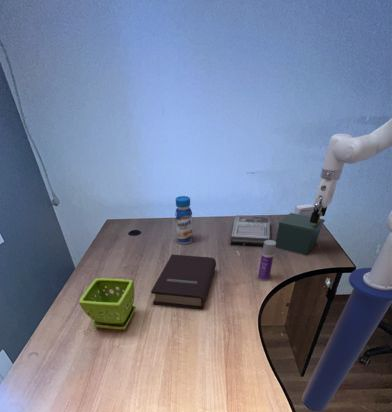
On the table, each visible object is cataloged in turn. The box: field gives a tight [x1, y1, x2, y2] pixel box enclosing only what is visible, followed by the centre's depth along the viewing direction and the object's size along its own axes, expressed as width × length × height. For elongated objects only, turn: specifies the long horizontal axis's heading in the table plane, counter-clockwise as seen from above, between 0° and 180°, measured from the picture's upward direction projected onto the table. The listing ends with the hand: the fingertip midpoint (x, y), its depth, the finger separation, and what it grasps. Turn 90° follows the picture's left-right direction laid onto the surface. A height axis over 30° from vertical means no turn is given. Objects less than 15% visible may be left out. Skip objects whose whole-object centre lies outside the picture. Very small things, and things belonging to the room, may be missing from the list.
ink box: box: [293, 203, 315, 217], centre depth 138 cm, size 8×5×12 cm, turn 105°
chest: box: [275, 223, 322, 256], centre depth 126 cm, size 16×14×11 cm
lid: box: [278, 212, 326, 232], centre depth 120 cm, size 16×14×5 cm
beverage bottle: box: [174, 195, 194, 245], centre depth 129 cm, size 8×8×20 cm
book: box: [150, 254, 217, 310], centre depth 105 cm, size 28×20×6 cm
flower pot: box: [78, 277, 137, 331], centre depth 89 cm, size 14×14×13 cm
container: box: [257, 239, 277, 281], centre depth 105 cm, size 5×5×15 cm
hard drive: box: [230, 214, 271, 248], centre depth 138 cm, size 18×27×4 cm
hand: (317, 219), depth 117 cm, fingers open, 9 cm apart
